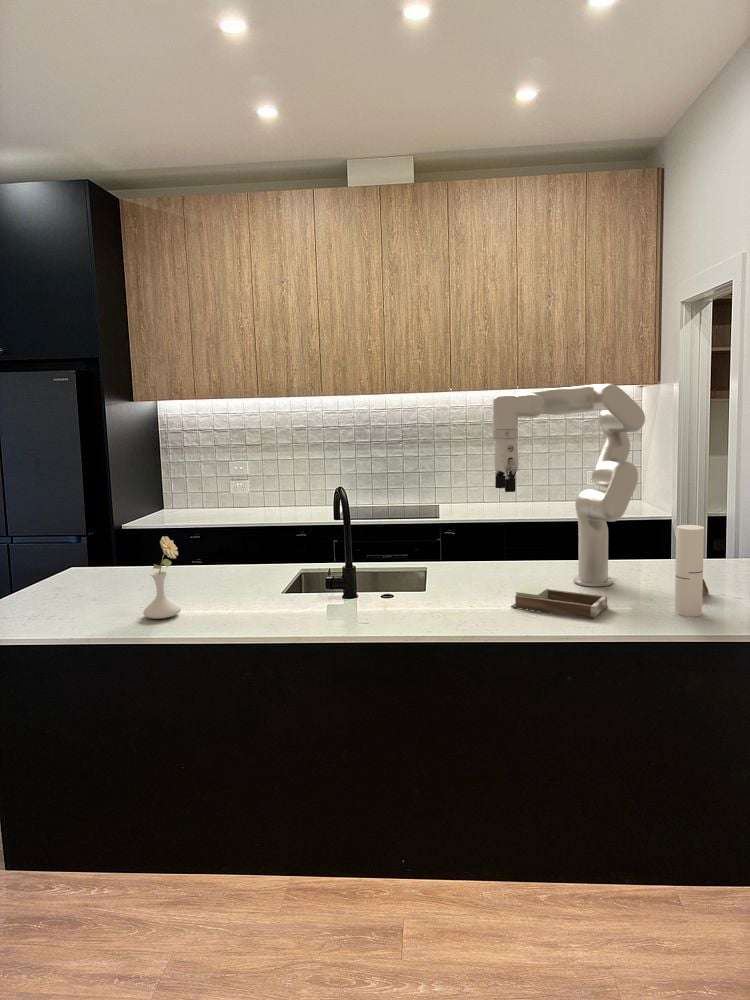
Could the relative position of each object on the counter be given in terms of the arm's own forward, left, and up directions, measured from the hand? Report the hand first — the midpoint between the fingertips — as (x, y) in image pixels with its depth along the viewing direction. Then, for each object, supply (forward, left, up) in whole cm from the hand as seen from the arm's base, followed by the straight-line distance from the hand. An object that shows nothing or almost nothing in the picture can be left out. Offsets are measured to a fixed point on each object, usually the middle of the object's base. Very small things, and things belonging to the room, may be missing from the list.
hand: (505, 489), depth 224 cm
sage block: (+4, +10, -35) cm, 36 cm away
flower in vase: (+66, -86, -35) cm, 114 cm away
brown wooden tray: (+4, +19, -35) cm, 39 cm away
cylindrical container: (-8, +53, -35) cm, 64 cm away
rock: (-26, +51, -35) cm, 67 cm away
